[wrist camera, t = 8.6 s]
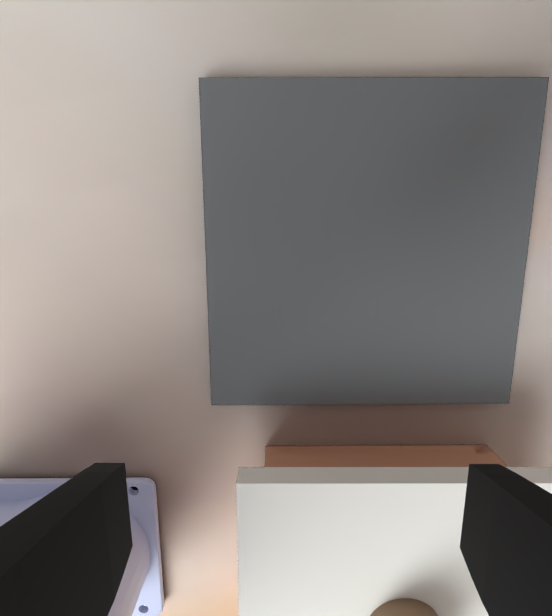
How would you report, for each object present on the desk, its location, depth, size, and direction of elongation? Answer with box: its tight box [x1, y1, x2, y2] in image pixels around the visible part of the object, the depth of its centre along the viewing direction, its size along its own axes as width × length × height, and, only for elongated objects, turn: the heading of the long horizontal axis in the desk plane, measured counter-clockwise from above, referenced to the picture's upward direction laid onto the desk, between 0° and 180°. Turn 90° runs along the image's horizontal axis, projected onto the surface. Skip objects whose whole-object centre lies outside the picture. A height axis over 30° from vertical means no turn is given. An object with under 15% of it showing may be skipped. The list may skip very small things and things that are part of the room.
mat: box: [199, 77, 549, 405], centre depth 17 cm, size 14×14×1 cm
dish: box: [265, 445, 508, 467], centre depth 18 cm, size 11×11×4 cm
